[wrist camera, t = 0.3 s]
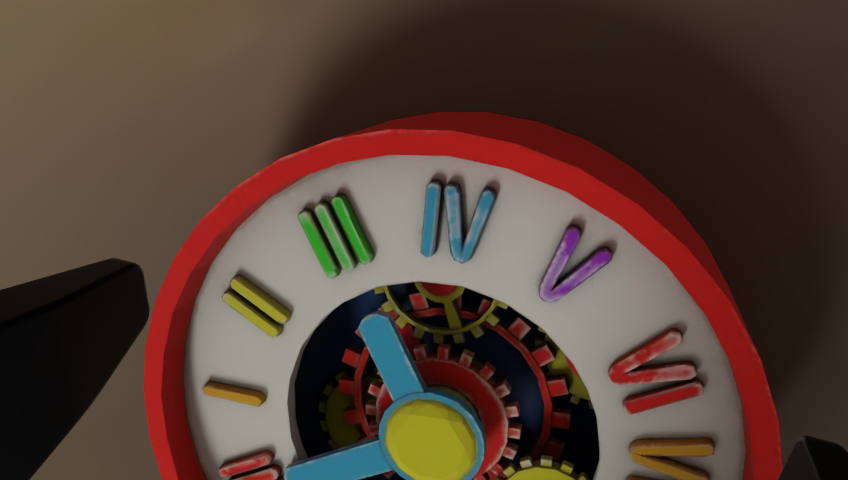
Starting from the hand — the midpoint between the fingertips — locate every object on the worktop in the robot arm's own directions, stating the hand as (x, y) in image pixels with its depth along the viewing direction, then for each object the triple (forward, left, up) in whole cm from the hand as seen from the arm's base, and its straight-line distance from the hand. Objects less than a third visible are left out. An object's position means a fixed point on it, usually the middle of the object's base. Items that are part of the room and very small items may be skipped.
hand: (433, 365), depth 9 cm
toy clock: (-7, -4, -16) cm, 18 cm away
